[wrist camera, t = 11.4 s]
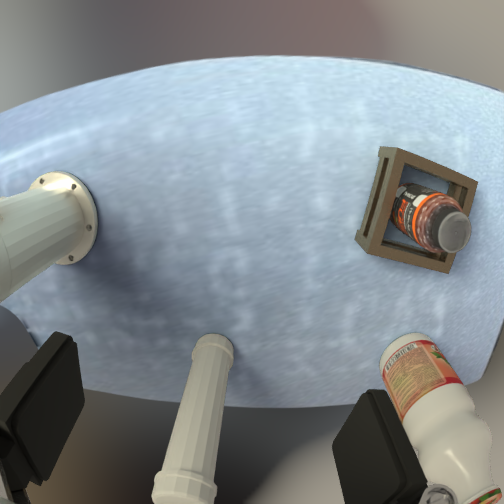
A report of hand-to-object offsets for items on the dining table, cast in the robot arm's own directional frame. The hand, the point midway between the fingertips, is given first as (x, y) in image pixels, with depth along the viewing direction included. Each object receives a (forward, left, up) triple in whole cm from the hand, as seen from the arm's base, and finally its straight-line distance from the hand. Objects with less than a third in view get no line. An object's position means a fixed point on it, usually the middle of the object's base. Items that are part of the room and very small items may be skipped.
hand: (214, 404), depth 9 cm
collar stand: (+18, +5, -29) cm, 34 cm away
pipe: (-1, -20, -29) cm, 35 cm away
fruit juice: (+27, -16, -29) cm, 43 cm away
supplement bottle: (+18, +5, -29) cm, 34 cm away
